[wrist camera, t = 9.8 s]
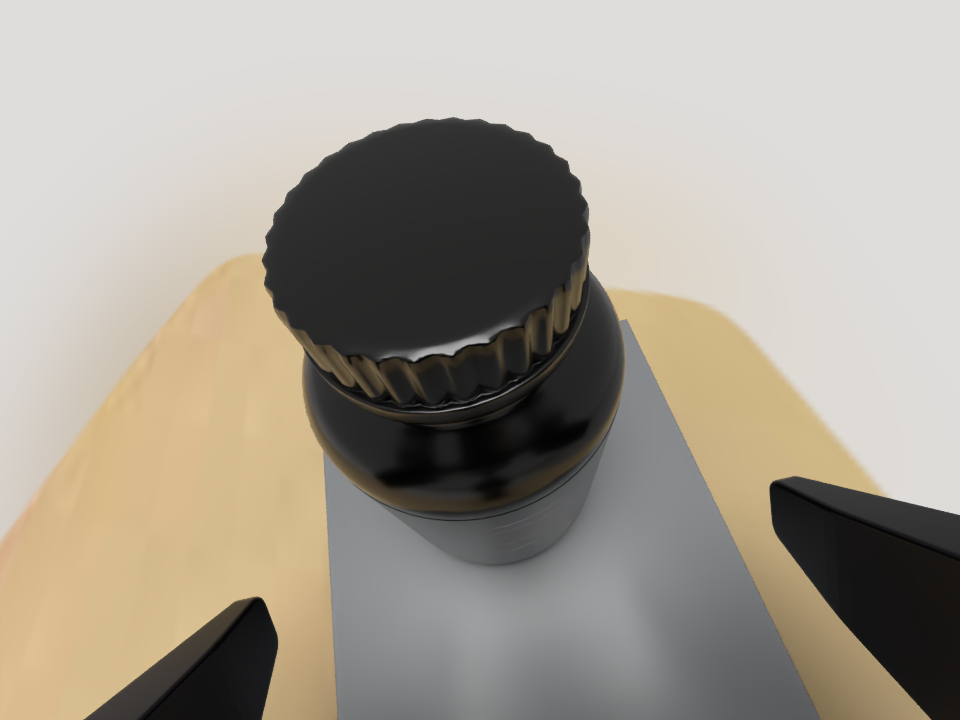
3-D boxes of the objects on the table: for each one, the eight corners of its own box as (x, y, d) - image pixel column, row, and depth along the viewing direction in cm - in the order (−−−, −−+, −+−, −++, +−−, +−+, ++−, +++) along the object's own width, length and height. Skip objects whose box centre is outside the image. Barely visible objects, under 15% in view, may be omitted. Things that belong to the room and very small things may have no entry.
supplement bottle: (365, 468, 18) (113, 232, 7) (495, 352, 20) (440, 34, 9) (493, 621, 15) (371, 582, 4) (633, 466, 16) (779, 184, 6)
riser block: (808, 783, 14) (867, 816, 12) (386, 899, 14) (350, 957, 11) (617, 356, 22) (626, 319, 20) (346, 426, 22) (320, 398, 19)
